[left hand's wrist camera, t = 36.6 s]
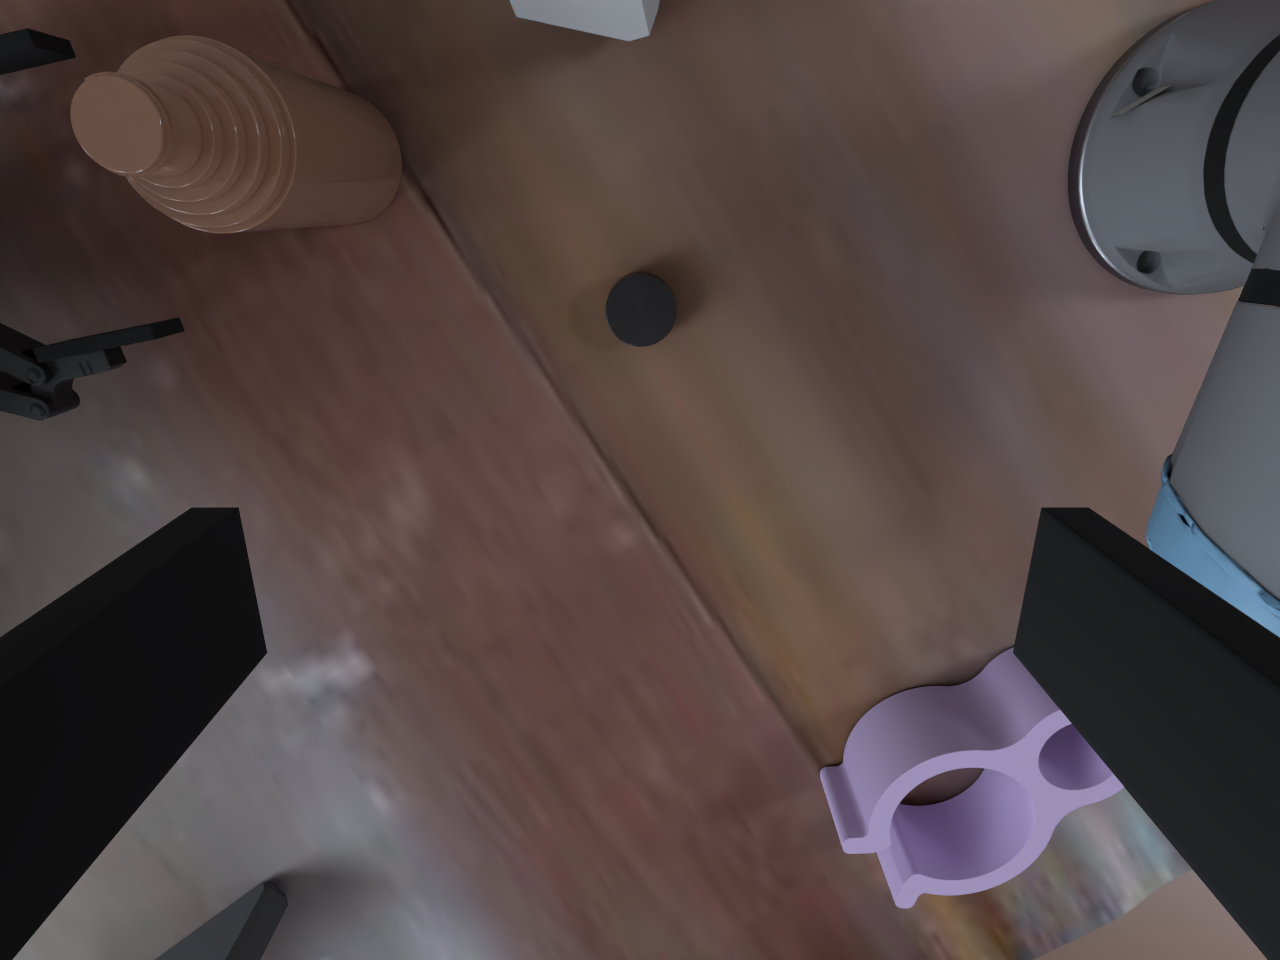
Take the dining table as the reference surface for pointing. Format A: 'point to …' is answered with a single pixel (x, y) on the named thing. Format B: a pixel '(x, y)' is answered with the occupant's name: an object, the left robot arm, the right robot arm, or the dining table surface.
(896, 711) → the clip
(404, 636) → the dining table surface
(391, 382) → the dining table surface
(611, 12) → the electronic device
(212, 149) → the bottle
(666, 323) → the cap
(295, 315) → the dining table surface
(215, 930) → the handheld gaming console
